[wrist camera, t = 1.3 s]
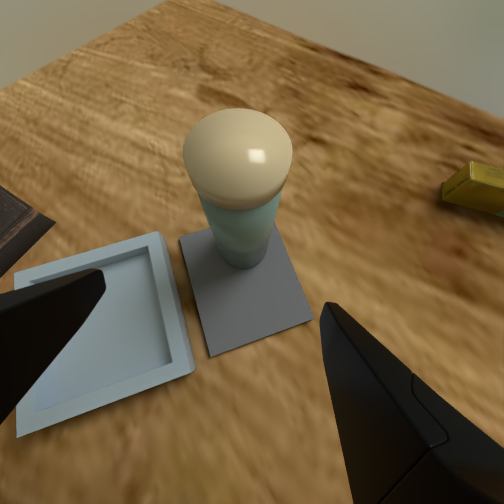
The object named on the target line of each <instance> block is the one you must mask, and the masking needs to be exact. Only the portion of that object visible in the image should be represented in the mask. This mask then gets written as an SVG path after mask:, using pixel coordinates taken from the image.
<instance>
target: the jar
mask: <svg viewBox="0 0 504 504" xmlns="http://www.w3.org/2000/svg"><path fill="white" fill-rule="evenodd" d="M183 160H184V164H185V166H186V169H187V172H188V174H189V177H190V179H191V182H192V185H193V186H194V188H195V190H196V191H197V193H198V195H199V198H200V201H201V203H202V206H203V209H204V212H205V214H206V217H207V220H208V222H209V225H210V228H211V230H212V233H213V236H214V238H215V241H216V244H217V247H218V249H219V252H220V255H221V257H222V258H223V260H224V261H225V262H226V263H227V264H229V265H230V266H232V267H234V268H238V269H248V268H252V267H254V266H256V265H258V264H259V263H260V262H261V261H262V260H263V259H264V257H265V255H266V253H267V249H268V245H269V241H270V236H271V232H272V228H273V224H274V220H275V216H276V212H277V208H278V204H279V200H280V196H281V192H282V188H283V186H284V184H285V182H286V179H287V176H288V172H289V168H290V164H291V160H292V145H291V141H290V138H289V136H288V134H287V133H286V131H285V130H284V128H283V127H282V126H281V125H280V124H279V123H278V122H277V121H275V120H274V119H273V118H271V117H269V116H268V115H265V114H263V113H261V112H258V111H254V110H250V109H239V108H235V109H226V110H221V111H218V112H215V113H212V114H210V115H208V116H206V117H204V118H203V119H202V120H200V121H199V122H198V123H197V124H195V125H194V126H193V128H192V129H191V130H190V132H189V133H188V135H187V137H186V139H185V142H184V145H183Z"/></svg>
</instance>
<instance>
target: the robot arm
mask: <svg viewBox="0 0 504 504" xmlns="http://www.w3.org/2000/svg"><path fill="white" fill-rule="evenodd" d="M105 291H106V283H105V278H104V273H103V271H102V270H100V269H94V268H89V269H86V270H82V271H79V272H75V273H72V274H68V275H65V276H61V277H58V278H55V279H51V280H48V281H44V282H41V283H37V284H34V285H30V286H27V287H23V288H20V289H17V290H13V291H10V292H6V293H3V294H0V425H1V424H2V422H3V421H4V420H5V419H6V418H7V416H8V415H9V414H10V413H11V411H12V410H13V409H14V408H15V407H16V405H17V404H18V403H19V402H20V401H21V399H22V398H23V397H24V396H25V395H26V393H27V392H28V391H29V390H30V388H31V387H32V386H33V385H34V384H35V382H36V381H37V380H38V379H39V378H40V376H41V375H42V374H43V373H44V371H45V370H46V369H47V368H48V367H49V365H50V364H51V363H52V362H53V361H54V359H55V358H56V357H57V356H58V354H59V353H60V352H61V351H62V350H63V348H64V347H65V346H66V345H67V344H68V342H69V341H70V340H71V339H72V337H73V336H74V335H75V334H76V333H77V331H78V330H79V329H80V328H81V326H82V325H83V324H84V322H85V321H86V320H87V318H88V317H89V315H90V314H91V312H92V311H93V309H94V308H95V306H96V305H97V303H98V302H99V300H100V299H101V297H102V296H103V294H104V293H105ZM320 333H321V344H322V354H323V362H324V367H325V372H326V376H327V381H328V386H329V391H330V395H331V400H332V405H333V409H334V414H335V419H336V423H337V428H338V433H339V438H340V442H341V447H342V452H343V456H344V461H345V466H346V471H347V475H348V480H349V485H350V489H351V494H352V499H353V504H504V448H503V447H501V446H500V445H499V444H498V443H497V442H495V441H494V440H493V439H492V438H490V437H489V436H488V435H487V434H485V433H484V432H483V431H482V430H480V429H479V428H478V427H477V426H476V425H474V424H473V423H472V422H471V421H469V420H468V419H467V418H466V417H464V416H463V415H462V414H461V413H460V412H458V411H457V410H456V409H455V408H454V407H452V406H451V405H450V404H449V403H448V402H446V401H445V400H444V399H443V398H442V397H440V396H439V395H438V394H437V393H436V392H435V391H434V390H432V389H431V388H430V387H429V386H428V385H427V384H426V383H425V382H423V381H422V380H421V379H420V378H419V377H418V376H417V375H416V374H414V373H412V371H411V370H410V369H409V368H408V367H407V366H406V365H404V364H403V363H402V362H401V361H400V360H399V359H398V358H397V357H396V356H395V355H393V354H392V353H391V352H390V351H389V350H388V349H387V348H386V347H385V346H383V345H382V344H381V343H380V342H379V341H378V340H377V339H376V338H375V337H374V336H372V335H371V334H370V333H369V332H368V331H367V330H366V329H365V328H364V327H362V326H361V325H360V324H359V323H358V322H357V321H356V320H355V319H354V318H352V317H351V316H350V315H349V314H348V313H347V312H346V311H345V310H344V309H343V308H341V307H340V306H339V305H338V304H337V303H333V302H326V303H325V304H324V307H323V310H322V313H321V316H320Z"/></svg>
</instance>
